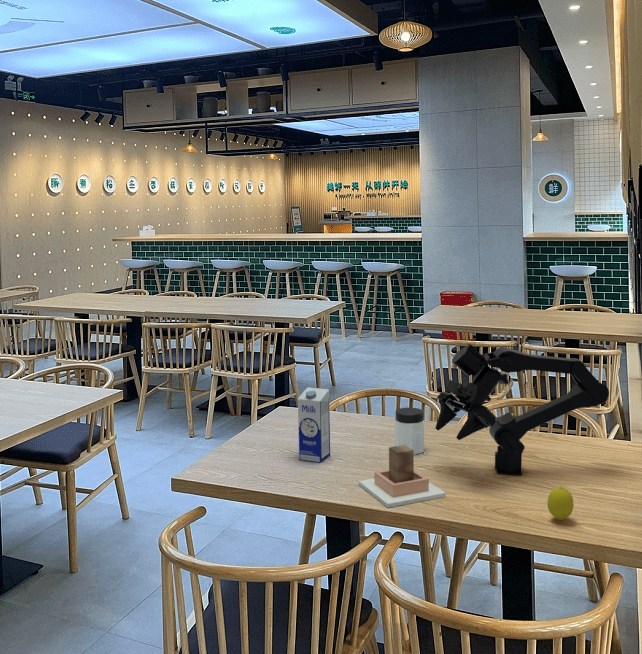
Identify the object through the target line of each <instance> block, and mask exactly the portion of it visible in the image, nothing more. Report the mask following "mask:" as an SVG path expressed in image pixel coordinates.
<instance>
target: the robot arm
mask: <svg viewBox="0 0 642 654" xmlns="http://www.w3.org/2000/svg"><path fill="white" fill-rule="evenodd" d="M451 363H452V364H454V366H456V367H457V368H458V369H460V371H462V372H463V373H464V374H465V375H466V376H468V377H470V376H474V378H473V380H472V381H471V382H469V381H464V382H462V383H460V382H457V381H455V380H452V379H451V380H450V379H449V380H448V381H447V384H446V386H445V389H444V391H441V392H440V393H439V394H438V395H437V397H436V399H437V400H438V403H439V406H440V412H439V415H438V419H437V422H436V425H435V430H437V431H440V430H441V429H442V428H444V427H446V425H447V424H448V423H450V422H451V421H452V420H453V419H455V417H457V416H458V414H457V413H459V412H460V411H463V412H466V413H467V419H466V421H465V422H464V424H463V425H462V427H461V428H460V430H459V432H458V433H457V435H456V437H455V438H456V440H458V441H460V440H462V439H465V438H466V437H468V436H470V435H472V434H474V433H476V432H478V431H481V430H483V429H488V428H489V429H488V430H489V435H490V436H491V438H492V439H493V440H494V441H495V443H496V444H497V446H496V447H497V450H496V451H494V469H495V470H496V474H501V475H518V476H521V475H523V471H522V469H523V468H522V462H523V460H522V459H523V455H522V454H523V453H524V450H525V448H526V446H525V444H523V443H522V441H521V440H522V438H523V437H524V436H525V435H526V434H527V433H528V432H529V431H531V430H533V429H535V428H537V427H540V426H541V425H544V424H546V423H548V422H550V421H553V420H555V419H557V418H559V417H562V416H564V415H566V414H568V413H570V412H572V411H574V410H577V409H585V408H593V407H595V406H596V407H597V406H599V405H603V404H605V403H606V402H607V401H608V399H609V396H610V392H609V391H610V390H609V388H608V387H607V385H605V384H604V383H602V382H601V381H599V380H597V378H596V377H595V376H594V375H593V374H592V373H591V372H590V370H589V369H588V368H587V367H586V365H585V363H584V362H583V361H581V360H580V359H578V358H575V357H570V358H568V357H560V356H559V357H558V356H551V355H550V356H549V355H540V354H529V353H526V352H522V351H521V350H516V349H513V348H510V347H507V346H501V347H497V349H495V350H494V351H493V352H487V353H483V354H481V353H480V351H478V350H477V349H476V348H475V347H474V346H473V345H472V344H471V343H468V344H467V345H466V346H464V347H462V348H461V349H460V350H458V351H456V353H455V354H454V356H453V357H452V359H451ZM498 369H499V370H500V371H501V372H503V373H501V372H500V371H499V370H498ZM524 371H538V372H549V373H557V374H566V375H570V376H571V377H572V379H573V381H574V382H575V383H576V384H575V385H574V386H573V387H572V388H571V389H570V390H569V392H567V393H566V394H564V395H561V396H559V397H557V398H555V399H553V400H551V401H548V402H545V403H544V404H541V405H540V406H537V407H535V408H533V409H531V410H529V411H526V412H525V413H522V414H520V415H515V416H513V414H511V412H510V411H508V412H506V413H505V414H503V415H501V416H496V415H495V414H494V413H493V412H492V411H491V410H490V408H488V407H487V406H486V405H484V403H485V402H490V401H491V400H492V398H491V397H490V395H491V394H492V393H493V391H494V390H495V388H496V387H497V386H498V384H500V385H508V384H509V379H508V373H519V372H524Z"/></svg>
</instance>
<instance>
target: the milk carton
mask: <svg viewBox="0 0 642 654" xmlns="http://www.w3.org/2000/svg"><path fill="white" fill-rule="evenodd" d="M297 412H298V413H297V415H298V416H297V417H298V419H297V420H298V424H297V425H298V455H299V456H298V459H299V461H302V460H304V461H305V462H309V461H310V462H311V463H316V464H317V463H318V464H321V463H323V462H324V461H325V460H327V459H328V458H329V457H331V427H330V426H331V424H330V421H331V420H330V419H331V417H330V415H331V413H330V389H328V388H320V387H319V388H318V387H317V388H316V387H306V389H304V390H303V392H302V393H301V394H300V395H299V397H298V398H297Z"/></svg>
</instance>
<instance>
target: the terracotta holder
mask: <svg viewBox="0 0 642 654" xmlns="http://www.w3.org/2000/svg"><path fill="white" fill-rule="evenodd" d="M373 474H374V477H373V478H369V479H364V480H359V481H358V485H359V486H360V487H361V488H362V489H363V490H364V491H366V492H367V493H369V495H371V496H372V497H373V498H374V499H376V500H377V501H378V502H380V503H381V504H382V505H383V506H385V507H386V508H387V509H389V508H394V507H400V506H404V505H405V506H406V505H411V504H414V503H419V502H421V503H422V502H425V501H429V500H430V501H431V500H435V499H441V498H445V497H446V496H447V495H446V492H445V491H443V490H442V489H440V488H439V487H437V486H436V485H434V484H433V483H431V482H430V479H429V478H428V477H426V476H425V475H423V474H422V473H420V472H418V471H417V470H416V469H414V480H411V481H406V482H400V483H393V482H392V481H390V480H389V469H385V470H377V471H374V473H373Z"/></svg>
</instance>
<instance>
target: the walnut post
mask: <svg viewBox="0 0 642 654" xmlns="http://www.w3.org/2000/svg"><path fill="white" fill-rule="evenodd" d="M414 457H415V455H414V450H413V449H411V448H409V447H407V446H406V445H401V446H395V445H394V446H391V447H388V470H389V480H390V481H392V482H393V483H400V482H406V481H411V480H414V470H415V466H414Z"/></svg>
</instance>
